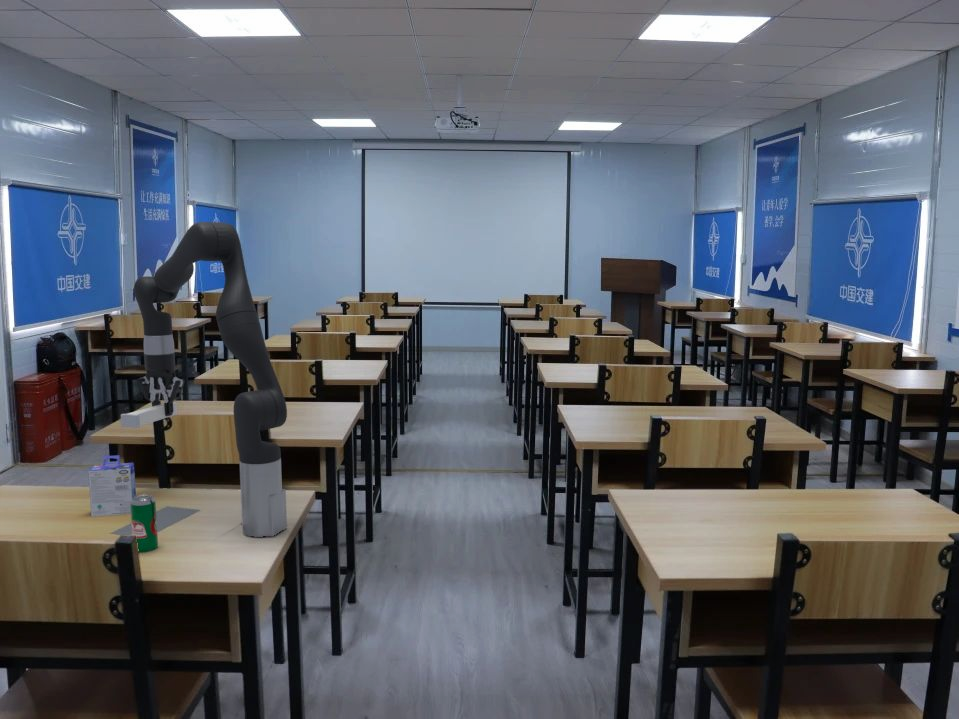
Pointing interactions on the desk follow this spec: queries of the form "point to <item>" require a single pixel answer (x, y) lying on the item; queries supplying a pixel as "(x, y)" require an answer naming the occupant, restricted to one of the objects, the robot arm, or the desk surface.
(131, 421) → the white square rod
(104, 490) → the ink cartridge box
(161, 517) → the mat
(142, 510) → the soda can
